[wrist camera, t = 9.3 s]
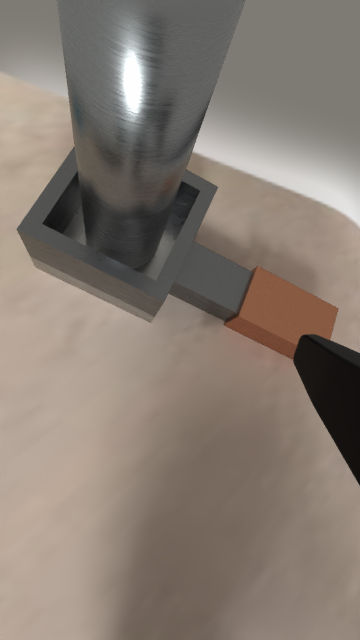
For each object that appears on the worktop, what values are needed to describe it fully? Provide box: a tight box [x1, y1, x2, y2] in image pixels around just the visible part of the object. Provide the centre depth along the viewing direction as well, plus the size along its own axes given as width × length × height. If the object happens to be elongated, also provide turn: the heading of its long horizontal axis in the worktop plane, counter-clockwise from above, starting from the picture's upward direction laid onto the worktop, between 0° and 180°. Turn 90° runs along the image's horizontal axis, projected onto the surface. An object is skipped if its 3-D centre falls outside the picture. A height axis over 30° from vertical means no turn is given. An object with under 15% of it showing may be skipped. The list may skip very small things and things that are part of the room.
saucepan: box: [17, 146, 338, 359], centre depth 19 cm, size 8×18×4 cm, turn 67°
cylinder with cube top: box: [57, 0, 245, 269], centre depth 13 cm, size 4×4×14 cm
